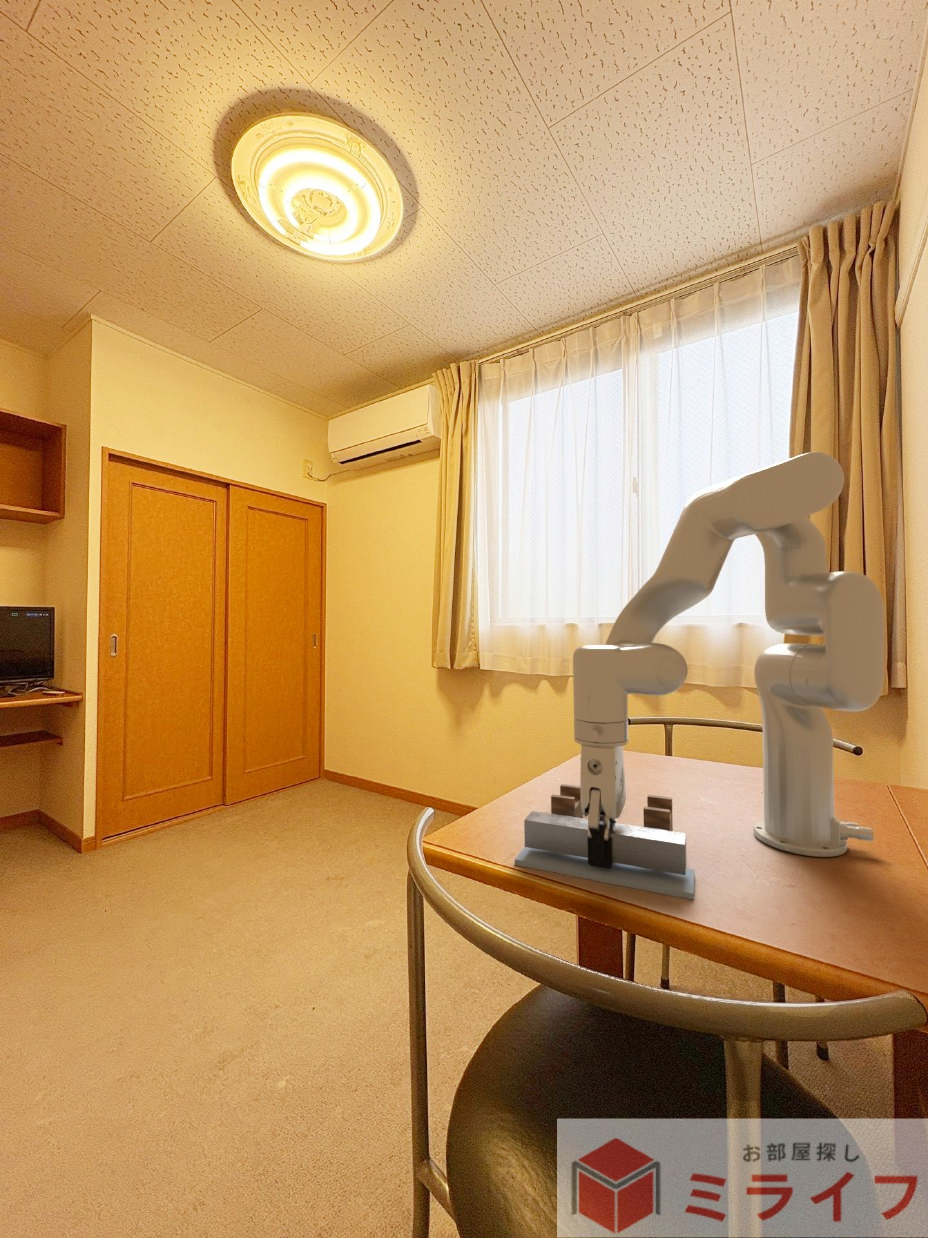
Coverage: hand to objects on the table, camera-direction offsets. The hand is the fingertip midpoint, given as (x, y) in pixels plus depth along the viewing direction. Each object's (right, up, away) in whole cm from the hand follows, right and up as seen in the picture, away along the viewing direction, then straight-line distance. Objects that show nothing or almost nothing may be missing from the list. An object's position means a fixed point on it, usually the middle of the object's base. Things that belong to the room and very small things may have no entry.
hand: (602, 858), depth 74 cm
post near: (+10, -2, +5) cm, 11 cm away
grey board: (0, -2, 0) cm, 2 cm away
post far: (-3, -2, +11) cm, 11 cm away
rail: (0, +1, 0) cm, 1 cm away
